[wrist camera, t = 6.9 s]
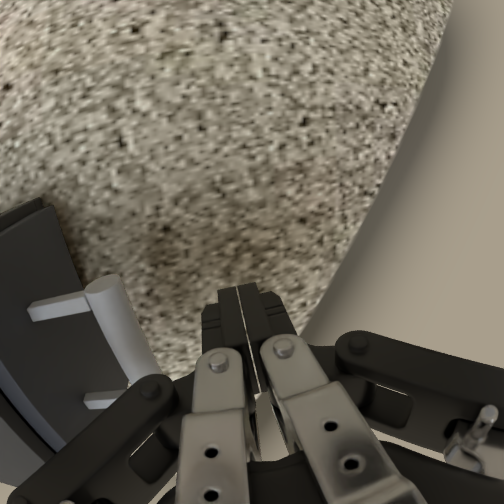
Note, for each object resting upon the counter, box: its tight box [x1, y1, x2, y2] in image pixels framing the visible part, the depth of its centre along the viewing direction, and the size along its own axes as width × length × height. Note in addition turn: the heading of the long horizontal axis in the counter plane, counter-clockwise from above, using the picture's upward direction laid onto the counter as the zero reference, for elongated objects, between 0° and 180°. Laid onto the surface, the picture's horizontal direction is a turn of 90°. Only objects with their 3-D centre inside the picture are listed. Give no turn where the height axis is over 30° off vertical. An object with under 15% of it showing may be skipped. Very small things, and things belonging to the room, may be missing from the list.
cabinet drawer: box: [0, 205, 163, 454], centre depth 11 cm, size 17×11×8 cm
